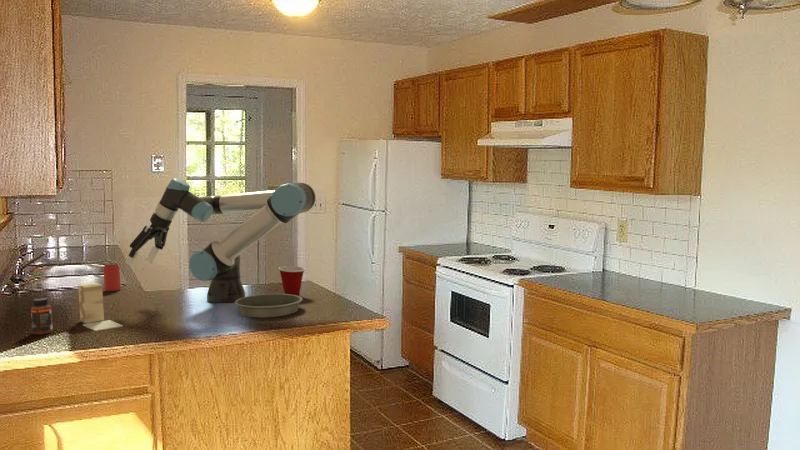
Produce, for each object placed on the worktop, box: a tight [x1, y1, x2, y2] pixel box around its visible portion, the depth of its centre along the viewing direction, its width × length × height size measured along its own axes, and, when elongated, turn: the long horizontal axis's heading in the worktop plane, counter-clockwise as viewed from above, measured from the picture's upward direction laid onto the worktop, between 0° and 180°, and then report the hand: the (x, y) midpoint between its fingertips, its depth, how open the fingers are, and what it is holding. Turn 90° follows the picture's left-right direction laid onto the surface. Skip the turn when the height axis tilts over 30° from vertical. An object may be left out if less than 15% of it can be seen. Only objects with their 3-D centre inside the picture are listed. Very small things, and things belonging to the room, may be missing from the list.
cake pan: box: [234, 293, 303, 318], centre depth 250 cm, size 25×25×4 cm
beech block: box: [77, 282, 105, 324], centre depth 236 cm, size 6×6×13 cm
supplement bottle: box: [30, 297, 54, 336], centre depth 221 cm, size 6×6×11 cm
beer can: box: [103, 262, 122, 293], centre depth 296 cm, size 7×7×12 cm
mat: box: [82, 319, 124, 332], centre depth 230 cm, size 12×9×1 cm
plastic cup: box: [278, 265, 306, 296], centre depth 276 cm, size 11×11×12 cm
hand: (138, 262), depth 262 cm, fingers open, 13 cm apart
